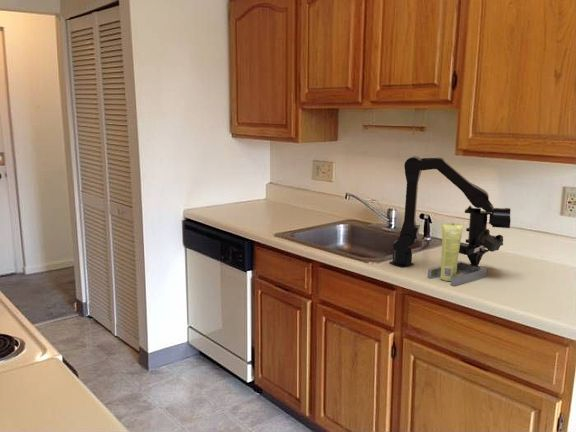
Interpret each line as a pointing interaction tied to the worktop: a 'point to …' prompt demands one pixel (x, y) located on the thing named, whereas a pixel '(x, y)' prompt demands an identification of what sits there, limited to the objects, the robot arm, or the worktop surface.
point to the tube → (450, 249)
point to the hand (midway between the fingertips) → (474, 269)
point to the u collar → (470, 273)
